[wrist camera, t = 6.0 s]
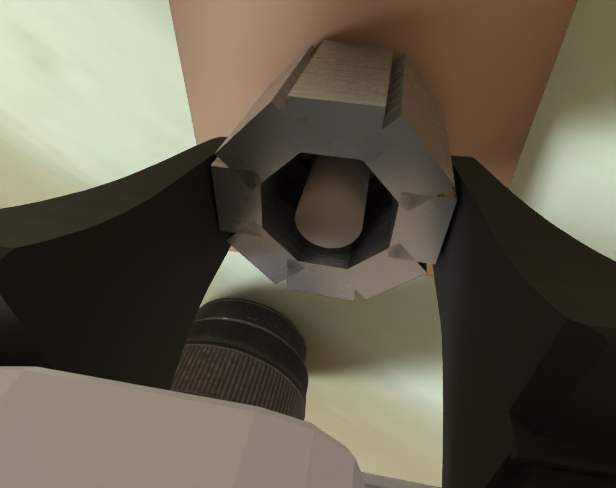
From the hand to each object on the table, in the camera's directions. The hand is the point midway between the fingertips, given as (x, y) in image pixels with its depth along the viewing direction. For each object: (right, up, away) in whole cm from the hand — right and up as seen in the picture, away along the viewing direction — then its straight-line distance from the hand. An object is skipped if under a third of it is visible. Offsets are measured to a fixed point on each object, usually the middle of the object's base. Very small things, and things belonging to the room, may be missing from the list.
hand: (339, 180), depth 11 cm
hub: (0, +1, +1) cm, 2 cm away
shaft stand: (+1, +2, +3) cm, 4 cm away
